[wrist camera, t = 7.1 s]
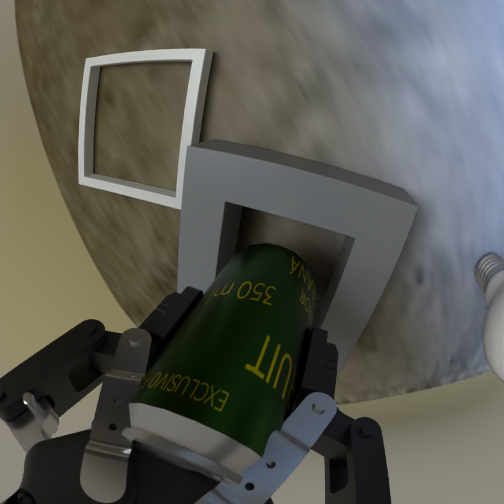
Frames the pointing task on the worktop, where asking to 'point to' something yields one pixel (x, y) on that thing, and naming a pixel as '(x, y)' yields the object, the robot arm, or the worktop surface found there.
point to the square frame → (189, 131)
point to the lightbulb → (493, 310)
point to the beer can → (229, 367)
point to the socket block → (301, 209)
